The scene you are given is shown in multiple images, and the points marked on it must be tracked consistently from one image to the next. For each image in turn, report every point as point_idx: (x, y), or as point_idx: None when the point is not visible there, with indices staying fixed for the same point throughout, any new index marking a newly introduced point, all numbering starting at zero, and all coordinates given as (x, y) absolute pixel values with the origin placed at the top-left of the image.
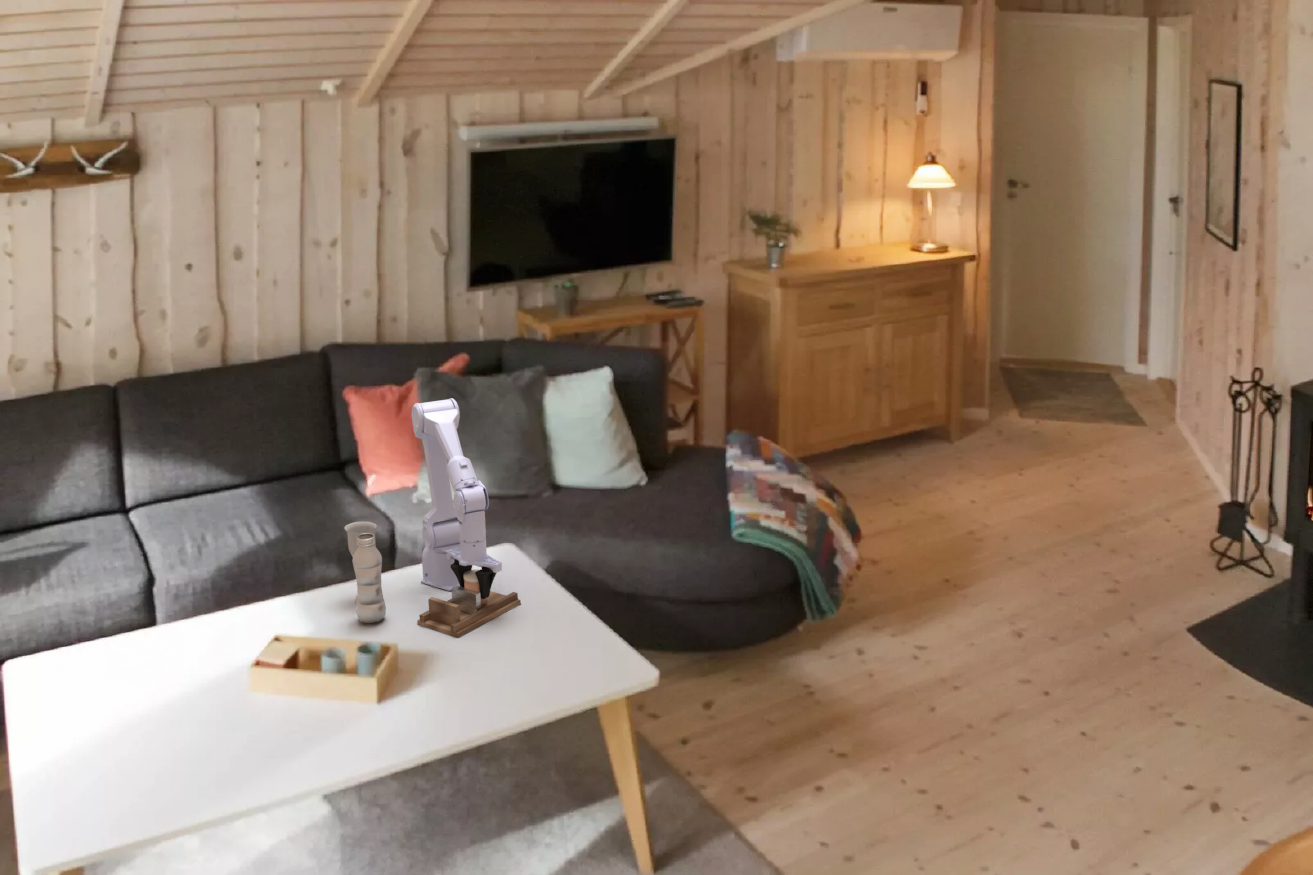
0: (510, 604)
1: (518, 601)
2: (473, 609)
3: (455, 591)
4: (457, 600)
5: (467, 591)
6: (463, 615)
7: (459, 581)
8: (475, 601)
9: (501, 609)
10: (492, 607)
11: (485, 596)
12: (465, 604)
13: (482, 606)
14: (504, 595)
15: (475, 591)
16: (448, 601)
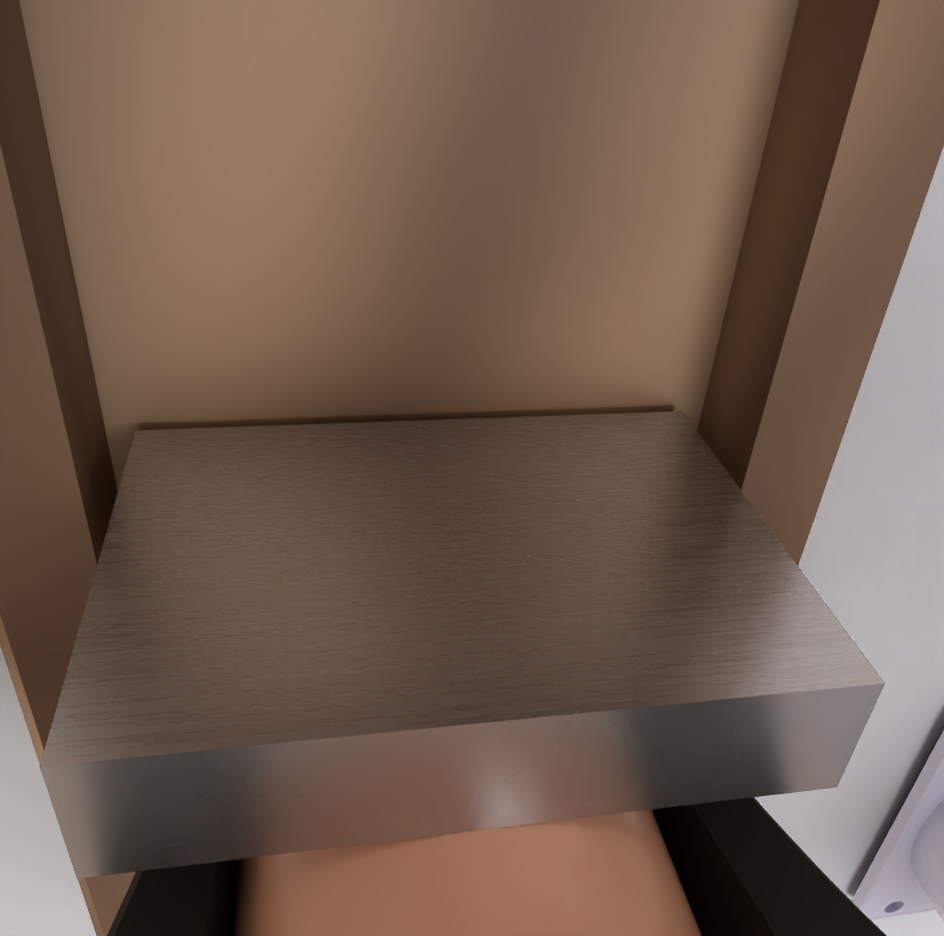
0: None
1: (98, 931)
2: (201, 484)
3: (734, 640)
4: (620, 514)
5: (400, 760)
6: (358, 323)
7: (815, 905)
8: (103, 617)
9: None
10: (37, 700)
11: None
12: (413, 506)
13: None
14: None
15: (223, 850)
16: (804, 460)
